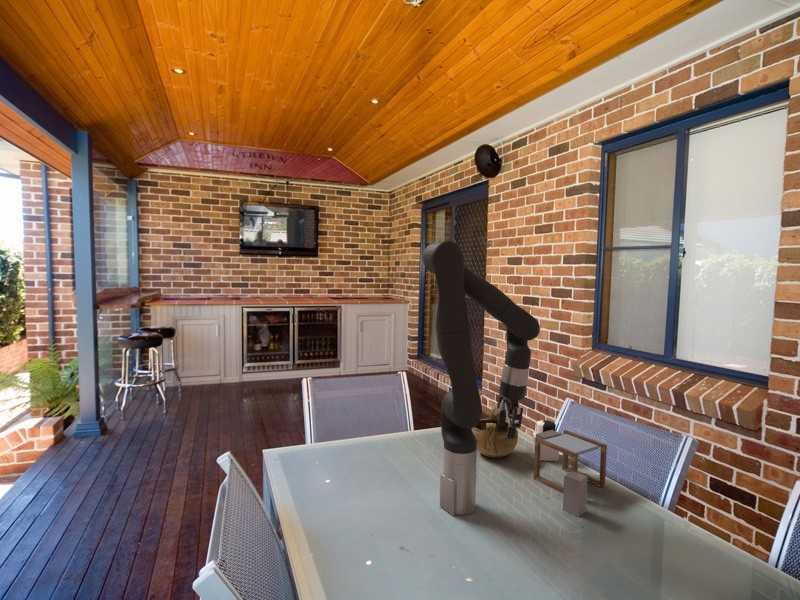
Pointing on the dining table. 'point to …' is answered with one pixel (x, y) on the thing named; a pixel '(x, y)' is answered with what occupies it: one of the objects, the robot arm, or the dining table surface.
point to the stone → (575, 493)
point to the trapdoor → (567, 442)
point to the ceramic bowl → (493, 436)
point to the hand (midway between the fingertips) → (505, 431)
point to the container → (545, 451)
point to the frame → (565, 461)
